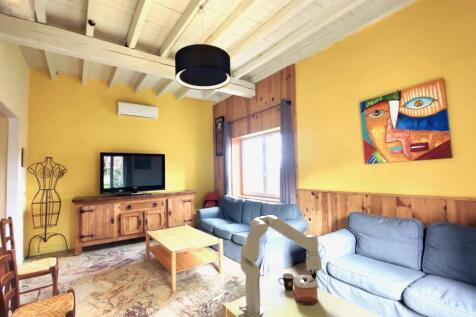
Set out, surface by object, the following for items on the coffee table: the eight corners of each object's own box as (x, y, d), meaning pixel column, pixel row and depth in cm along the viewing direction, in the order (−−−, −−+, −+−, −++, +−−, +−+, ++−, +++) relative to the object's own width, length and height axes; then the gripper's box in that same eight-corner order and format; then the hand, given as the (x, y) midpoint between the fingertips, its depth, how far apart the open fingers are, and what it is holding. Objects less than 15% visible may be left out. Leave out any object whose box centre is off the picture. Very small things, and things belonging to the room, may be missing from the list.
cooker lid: (298, 290, 161) (298, 286, 161) (289, 278, 178) (289, 275, 178) (322, 286, 163) (321, 281, 164) (310, 275, 180) (310, 271, 180)
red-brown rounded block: (300, 306, 161) (299, 290, 161) (291, 294, 177) (290, 279, 177) (322, 303, 163) (321, 287, 164) (311, 291, 179) (310, 277, 180)
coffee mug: (295, 286, 188) (294, 273, 188) (293, 292, 180) (293, 278, 180) (280, 284, 192) (279, 272, 192) (278, 290, 184) (277, 277, 184)
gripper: (305, 255, 167) (306, 281, 167) (325, 253, 170) (326, 279, 169) (300, 251, 175) (302, 276, 174) (319, 249, 177) (321, 274, 176)
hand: (314, 278), depth 172 cm, fingers closed
